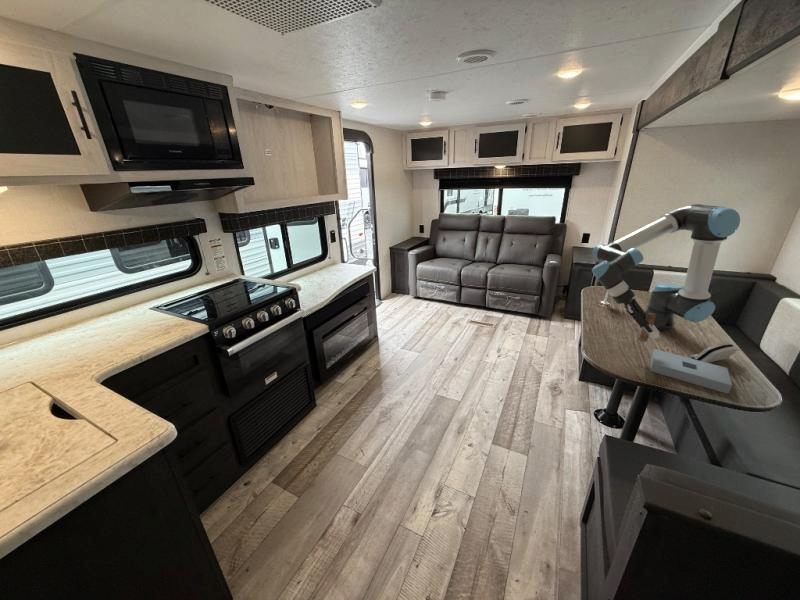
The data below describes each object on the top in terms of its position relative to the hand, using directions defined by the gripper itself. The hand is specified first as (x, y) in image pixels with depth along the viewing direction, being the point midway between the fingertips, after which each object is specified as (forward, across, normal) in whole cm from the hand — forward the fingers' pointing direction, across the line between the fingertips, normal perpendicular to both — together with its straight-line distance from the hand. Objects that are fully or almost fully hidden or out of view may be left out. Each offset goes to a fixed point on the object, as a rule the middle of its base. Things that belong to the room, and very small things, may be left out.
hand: (656, 335), depth 136 cm
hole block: (+18, +3, 0) cm, 18 cm away
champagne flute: (-8, -59, -26) cm, 65 cm away
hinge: (+26, -17, +7) cm, 32 cm away
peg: (0, 0, -5) cm, 5 cm away
